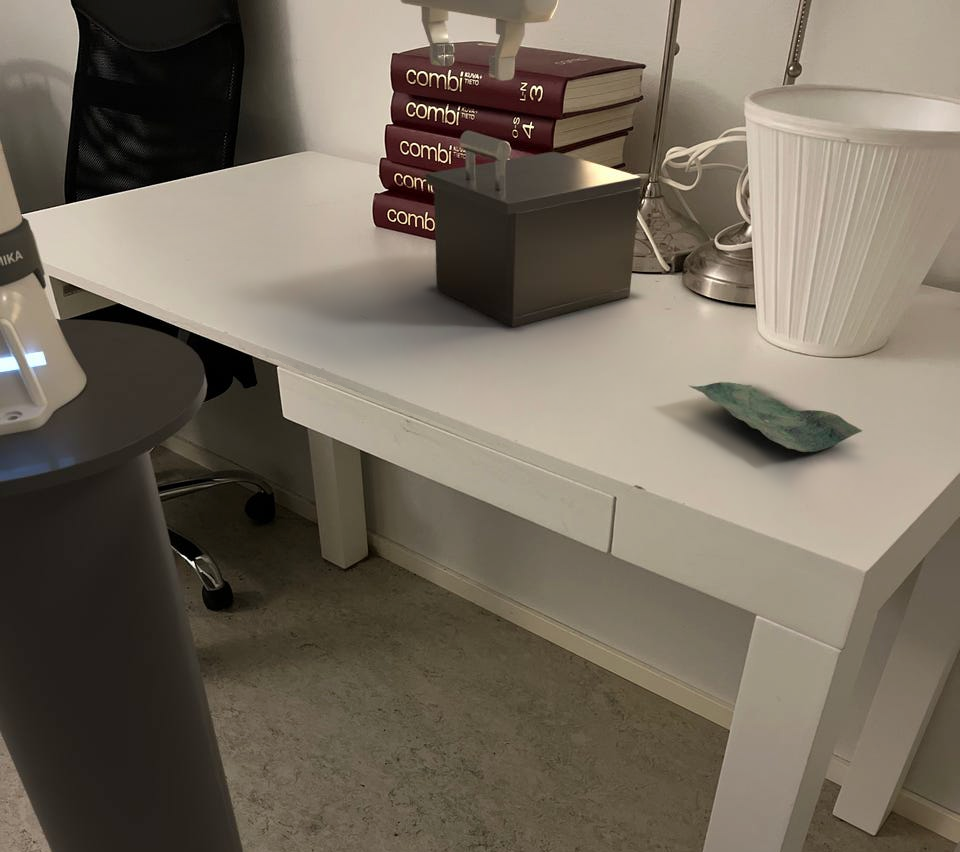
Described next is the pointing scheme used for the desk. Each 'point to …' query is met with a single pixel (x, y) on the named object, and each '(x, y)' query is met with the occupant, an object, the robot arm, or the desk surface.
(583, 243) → the black box
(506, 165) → the box lid
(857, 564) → the desk surface
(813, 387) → the desk surface
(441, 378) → the desk surface
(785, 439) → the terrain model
